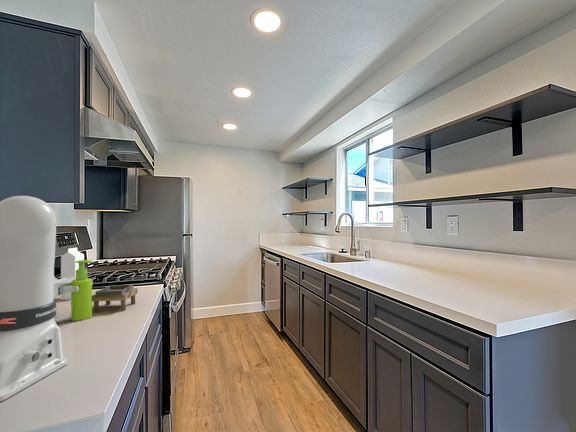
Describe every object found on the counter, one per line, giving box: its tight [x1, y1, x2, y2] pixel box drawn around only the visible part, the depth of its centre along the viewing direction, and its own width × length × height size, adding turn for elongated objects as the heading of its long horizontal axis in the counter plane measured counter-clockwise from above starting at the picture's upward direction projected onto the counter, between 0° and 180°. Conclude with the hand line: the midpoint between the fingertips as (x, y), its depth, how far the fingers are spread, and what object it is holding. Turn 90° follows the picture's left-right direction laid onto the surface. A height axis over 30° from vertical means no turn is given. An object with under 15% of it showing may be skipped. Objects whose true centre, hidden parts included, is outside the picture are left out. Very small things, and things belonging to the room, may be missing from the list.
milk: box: [60, 247, 85, 301], centre depth 128 cm, size 6×6×22 cm
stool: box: [92, 284, 138, 313], centre depth 113 cm, size 11×12×8 cm
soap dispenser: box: [70, 259, 94, 322], centre depth 101 cm, size 6×7×20 cm
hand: (85, 286), depth 101 cm, fingers closed on soap dispenser, 6 cm apart
